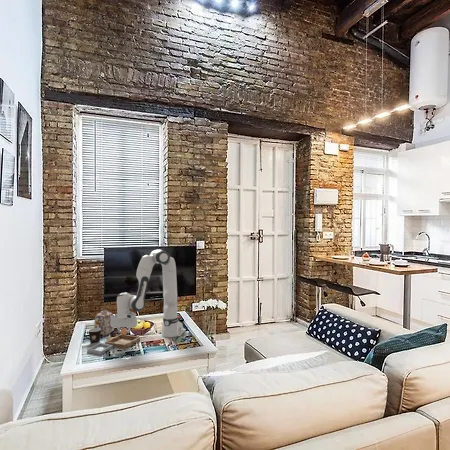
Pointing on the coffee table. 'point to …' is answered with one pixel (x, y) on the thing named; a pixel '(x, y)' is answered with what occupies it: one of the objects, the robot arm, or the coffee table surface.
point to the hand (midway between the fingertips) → (124, 332)
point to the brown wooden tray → (123, 341)
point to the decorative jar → (103, 322)
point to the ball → (124, 331)
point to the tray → (98, 352)
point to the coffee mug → (94, 335)
